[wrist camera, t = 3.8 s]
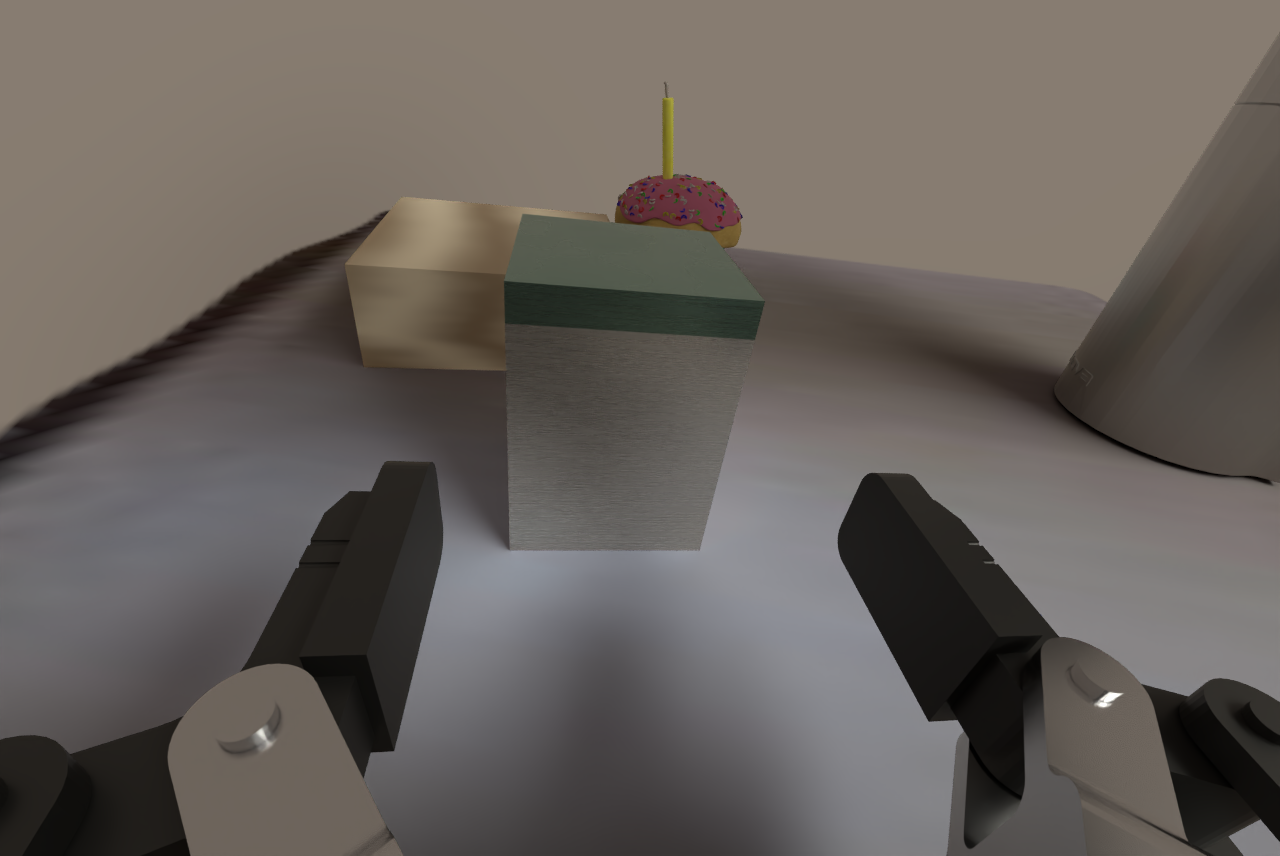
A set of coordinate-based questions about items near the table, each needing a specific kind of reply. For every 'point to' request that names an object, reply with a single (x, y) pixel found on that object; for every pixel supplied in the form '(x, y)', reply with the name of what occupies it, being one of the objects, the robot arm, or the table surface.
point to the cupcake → (679, 198)
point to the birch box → (437, 284)
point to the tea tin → (620, 382)
